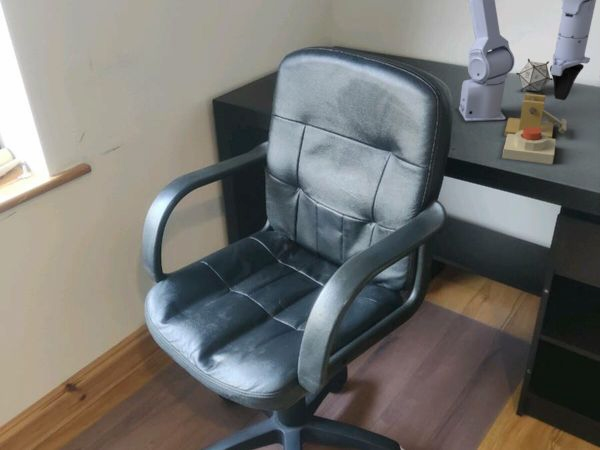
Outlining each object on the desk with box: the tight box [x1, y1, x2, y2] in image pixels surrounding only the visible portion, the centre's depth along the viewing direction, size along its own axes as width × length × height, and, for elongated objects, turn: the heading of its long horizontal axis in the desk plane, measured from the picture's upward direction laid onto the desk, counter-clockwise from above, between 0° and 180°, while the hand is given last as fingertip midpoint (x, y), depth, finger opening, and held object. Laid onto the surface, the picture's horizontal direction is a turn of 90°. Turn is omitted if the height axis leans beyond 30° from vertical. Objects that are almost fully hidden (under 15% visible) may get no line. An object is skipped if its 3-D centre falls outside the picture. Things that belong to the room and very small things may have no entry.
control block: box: [501, 130, 557, 165], centre depth 131 cm, size 10×8×4 cm
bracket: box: [503, 93, 555, 139], centre depth 139 cm, size 10×8×8 cm
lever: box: [530, 97, 568, 135], centre depth 138 cm, size 10×6×2 cm, turn 69°
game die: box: [515, 58, 553, 95], centre depth 160 cm, size 9×8×10 cm
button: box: [522, 127, 542, 141], centre depth 130 cm, size 4×4×2 cm
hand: (560, 98), depth 132 cm, fingers closed
